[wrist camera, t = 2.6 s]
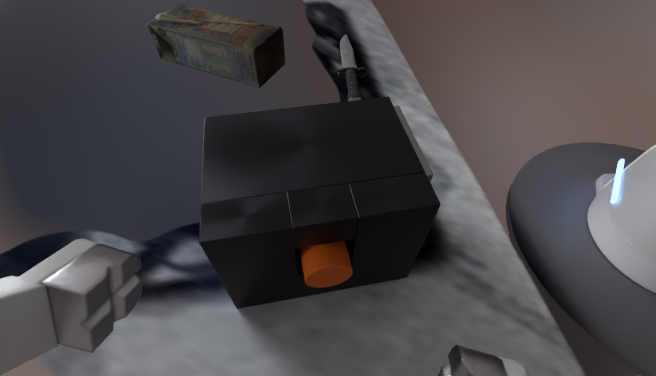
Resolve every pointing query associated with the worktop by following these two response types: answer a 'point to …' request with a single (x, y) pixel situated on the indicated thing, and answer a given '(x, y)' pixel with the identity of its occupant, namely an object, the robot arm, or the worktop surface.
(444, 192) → the worktop surface
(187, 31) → the beverage carton
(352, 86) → the knife
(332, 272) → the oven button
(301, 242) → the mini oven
